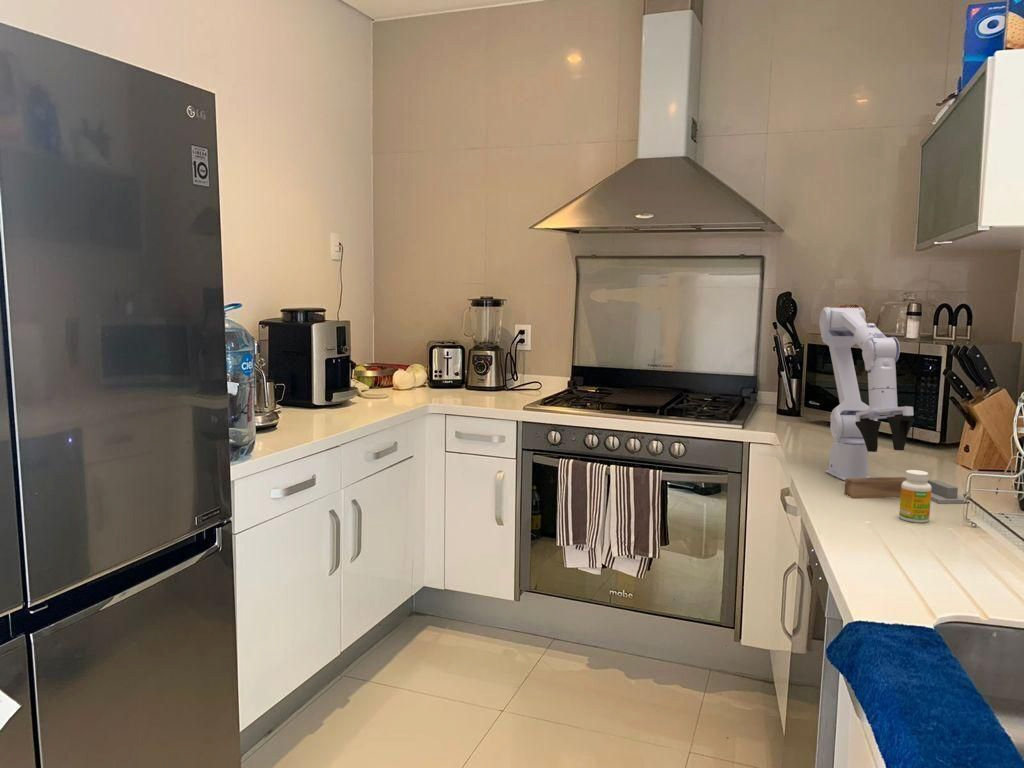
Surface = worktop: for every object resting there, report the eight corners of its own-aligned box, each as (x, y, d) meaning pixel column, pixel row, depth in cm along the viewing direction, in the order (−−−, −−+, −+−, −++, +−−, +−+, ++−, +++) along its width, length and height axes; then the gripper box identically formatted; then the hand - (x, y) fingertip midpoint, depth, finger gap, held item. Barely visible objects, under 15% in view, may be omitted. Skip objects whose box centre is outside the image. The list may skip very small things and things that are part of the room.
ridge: (914, 493, 176) (915, 479, 176) (943, 492, 177) (944, 478, 177) (939, 503, 168) (940, 489, 167) (969, 503, 168) (970, 488, 168)
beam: (844, 495, 175) (845, 478, 175) (903, 494, 176) (904, 477, 176) (852, 499, 172) (853, 481, 171) (912, 498, 173) (913, 480, 173)
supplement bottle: (913, 524, 153) (916, 475, 152) (892, 516, 158) (896, 469, 157) (935, 522, 154) (939, 474, 153) (914, 514, 159) (918, 468, 158)
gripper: (844, 392, 179) (846, 451, 177) (894, 385, 166) (897, 448, 164) (868, 394, 181) (871, 452, 179) (919, 387, 168) (923, 449, 166)
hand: (885, 451), depth 172 cm, fingers open, 7 cm apart
